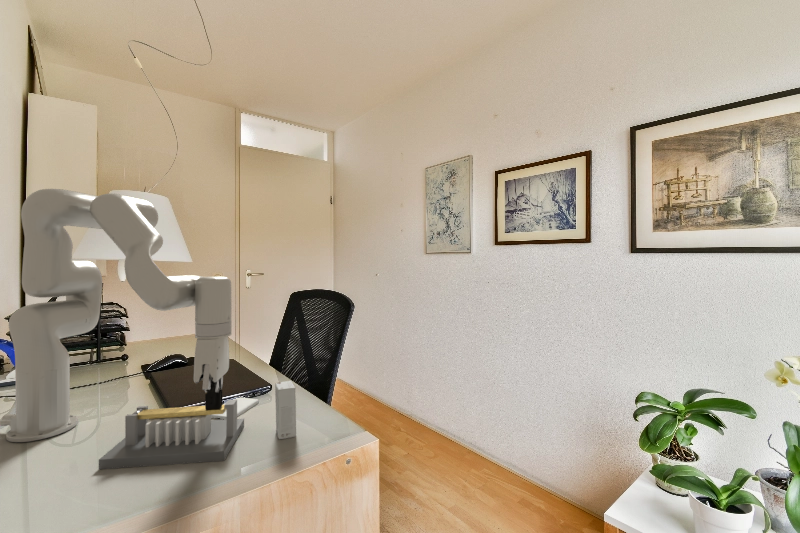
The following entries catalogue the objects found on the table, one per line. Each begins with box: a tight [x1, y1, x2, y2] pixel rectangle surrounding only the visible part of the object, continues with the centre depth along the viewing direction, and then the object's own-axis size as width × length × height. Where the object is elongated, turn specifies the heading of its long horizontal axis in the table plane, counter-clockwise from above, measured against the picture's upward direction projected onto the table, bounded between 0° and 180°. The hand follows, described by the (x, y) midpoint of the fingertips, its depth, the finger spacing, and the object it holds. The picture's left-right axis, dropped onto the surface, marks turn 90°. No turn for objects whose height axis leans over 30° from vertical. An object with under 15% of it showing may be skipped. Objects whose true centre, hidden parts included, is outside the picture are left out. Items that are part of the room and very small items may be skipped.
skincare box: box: [274, 380, 297, 440], centre depth 90 cm, size 6×4×12 cm
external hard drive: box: [211, 396, 260, 420], centre depth 103 cm, size 2×8×12 cm
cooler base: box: [98, 399, 245, 470], centre depth 83 cm, size 24×16×10 cm, turn 99°
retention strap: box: [132, 404, 226, 420], centre depth 83 cm, size 20×3×2 cm, turn 99°
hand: (214, 407), depth 84 cm, fingers closed
